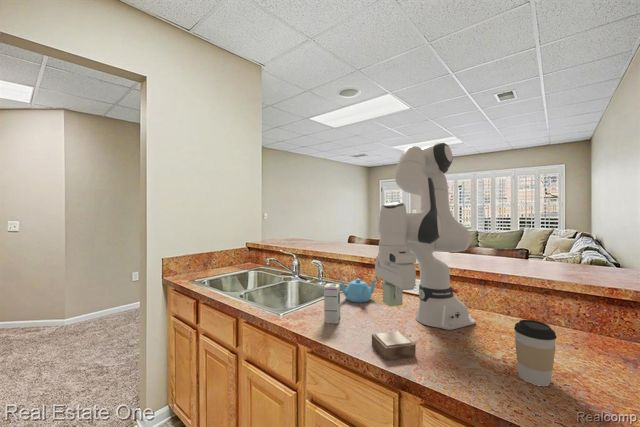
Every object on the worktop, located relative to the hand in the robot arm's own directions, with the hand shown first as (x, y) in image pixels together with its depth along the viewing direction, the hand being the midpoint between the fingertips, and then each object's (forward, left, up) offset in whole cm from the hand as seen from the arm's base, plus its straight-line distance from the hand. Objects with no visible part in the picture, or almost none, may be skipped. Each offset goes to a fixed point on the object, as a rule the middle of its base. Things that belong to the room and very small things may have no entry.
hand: (392, 296), depth 91 cm
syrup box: (+12, -28, -17) cm, 35 cm away
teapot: (-8, -50, -17) cm, 54 cm away
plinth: (0, 0, -17) cm, 17 cm away
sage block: (0, 0, -2) cm, 2 cm away
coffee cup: (-29, +23, -17) cm, 41 cm away
